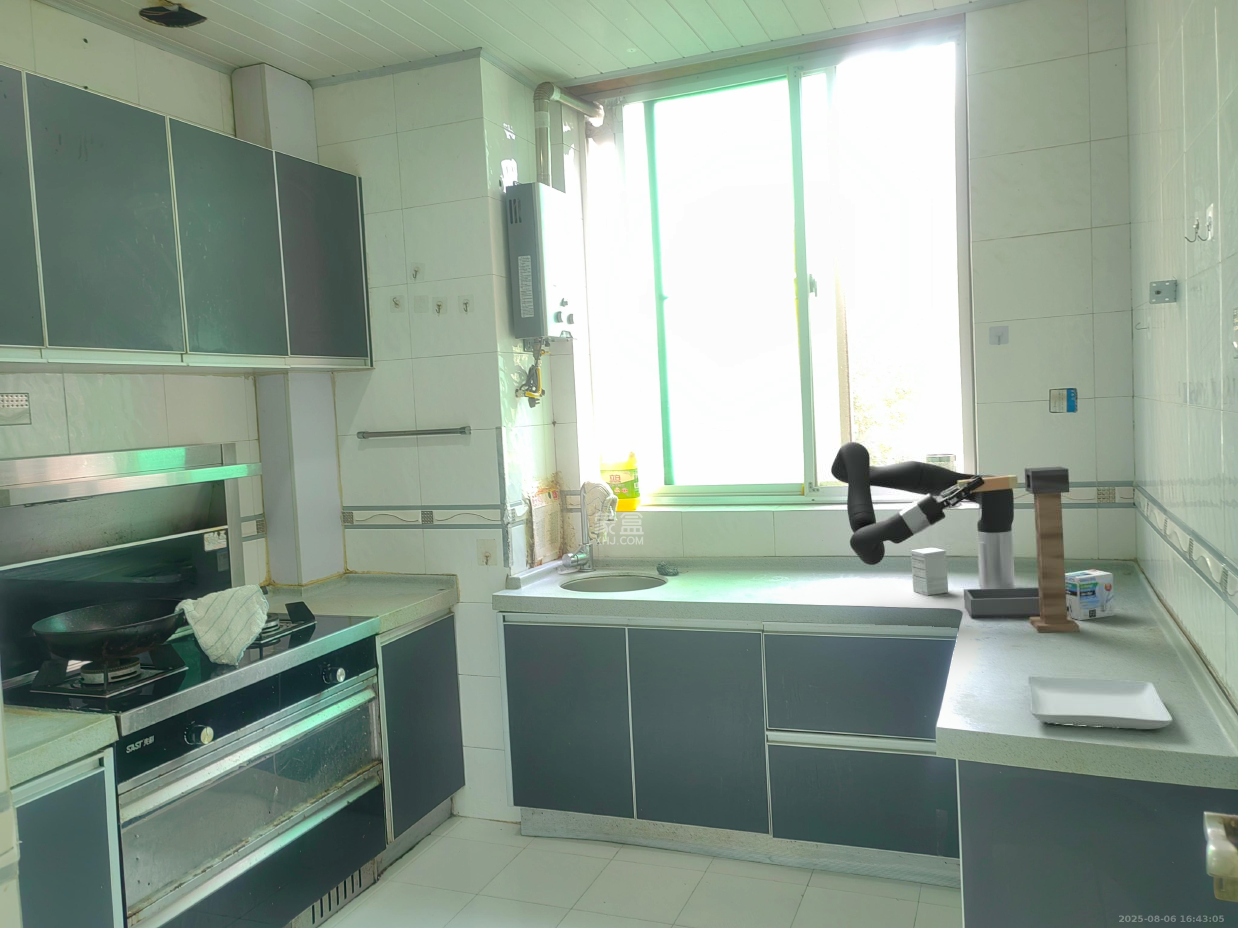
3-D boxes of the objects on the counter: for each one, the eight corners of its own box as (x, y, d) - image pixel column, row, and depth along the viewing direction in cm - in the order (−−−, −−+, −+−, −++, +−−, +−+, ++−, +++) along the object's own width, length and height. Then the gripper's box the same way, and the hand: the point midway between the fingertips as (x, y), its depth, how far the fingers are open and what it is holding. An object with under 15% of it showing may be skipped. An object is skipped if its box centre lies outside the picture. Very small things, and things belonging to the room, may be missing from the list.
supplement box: (934, 588, 270) (931, 546, 269) (949, 592, 263) (946, 549, 262) (912, 591, 268) (909, 549, 268) (927, 595, 261) (924, 552, 260)
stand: (1029, 622, 223) (1021, 468, 221) (1069, 622, 220) (1061, 466, 218) (1037, 631, 214) (1029, 471, 212) (1079, 631, 212) (1071, 469, 210)
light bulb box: (1080, 621, 221) (1078, 577, 221) (1060, 615, 228) (1058, 573, 227) (1116, 615, 224) (1114, 572, 223) (1095, 610, 230) (1093, 568, 230)
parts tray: (964, 607, 244) (963, 589, 243) (1044, 605, 239) (1043, 587, 239) (971, 618, 231) (970, 599, 231) (1056, 617, 226) (1055, 597, 226)
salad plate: (1175, 739, 146) (1174, 718, 146) (1032, 731, 154) (1031, 711, 154) (1152, 697, 165) (1151, 679, 165) (1026, 692, 173) (1025, 675, 173)
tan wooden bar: (958, 491, 234) (957, 480, 234) (1016, 486, 231) (1014, 474, 230) (960, 493, 231) (958, 481, 231) (1018, 487, 228) (1017, 476, 228)
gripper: (927, 521, 242) (985, 487, 238) (933, 530, 228) (994, 494, 224) (911, 498, 242) (969, 463, 238) (916, 506, 229) (977, 469, 224)
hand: (981, 478), depth 231 cm, fingers closed on tan wooden bar, 3 cm apart
